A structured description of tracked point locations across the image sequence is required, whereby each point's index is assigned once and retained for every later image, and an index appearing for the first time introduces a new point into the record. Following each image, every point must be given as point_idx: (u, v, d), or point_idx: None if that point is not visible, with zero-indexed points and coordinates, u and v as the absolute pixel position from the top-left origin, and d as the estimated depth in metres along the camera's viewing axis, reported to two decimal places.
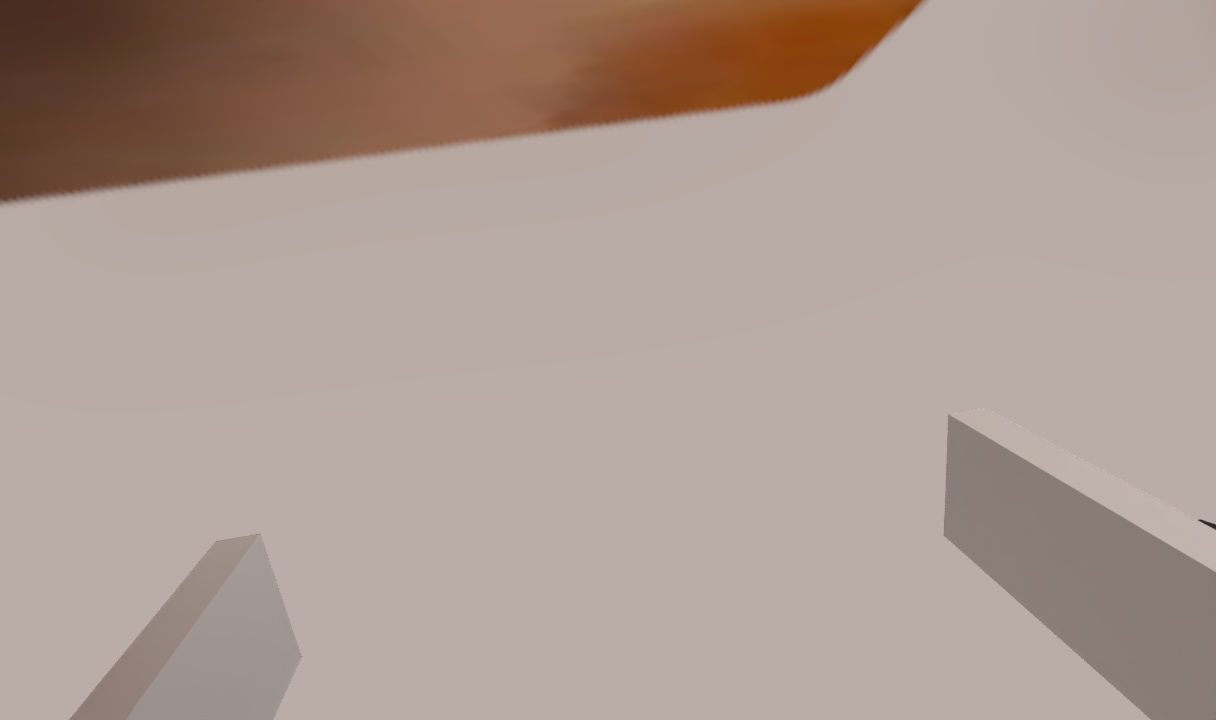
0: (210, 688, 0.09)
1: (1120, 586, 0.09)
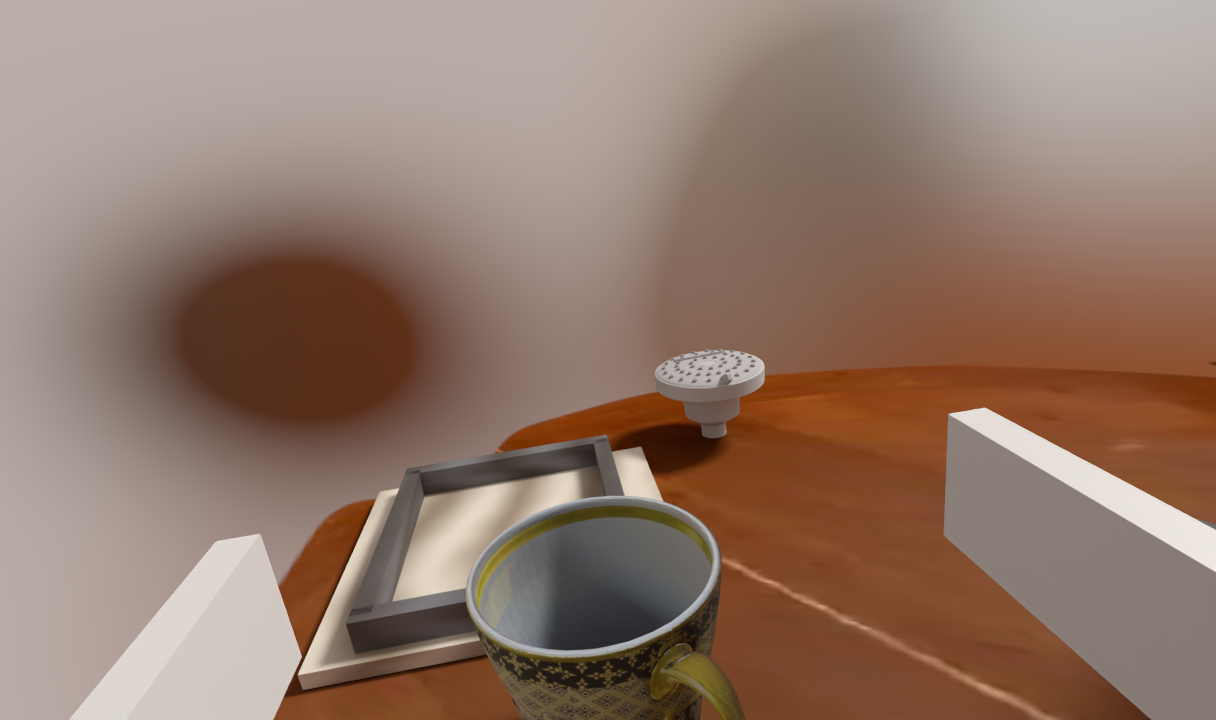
0: (210, 688, 0.09)
1: (1120, 586, 0.09)
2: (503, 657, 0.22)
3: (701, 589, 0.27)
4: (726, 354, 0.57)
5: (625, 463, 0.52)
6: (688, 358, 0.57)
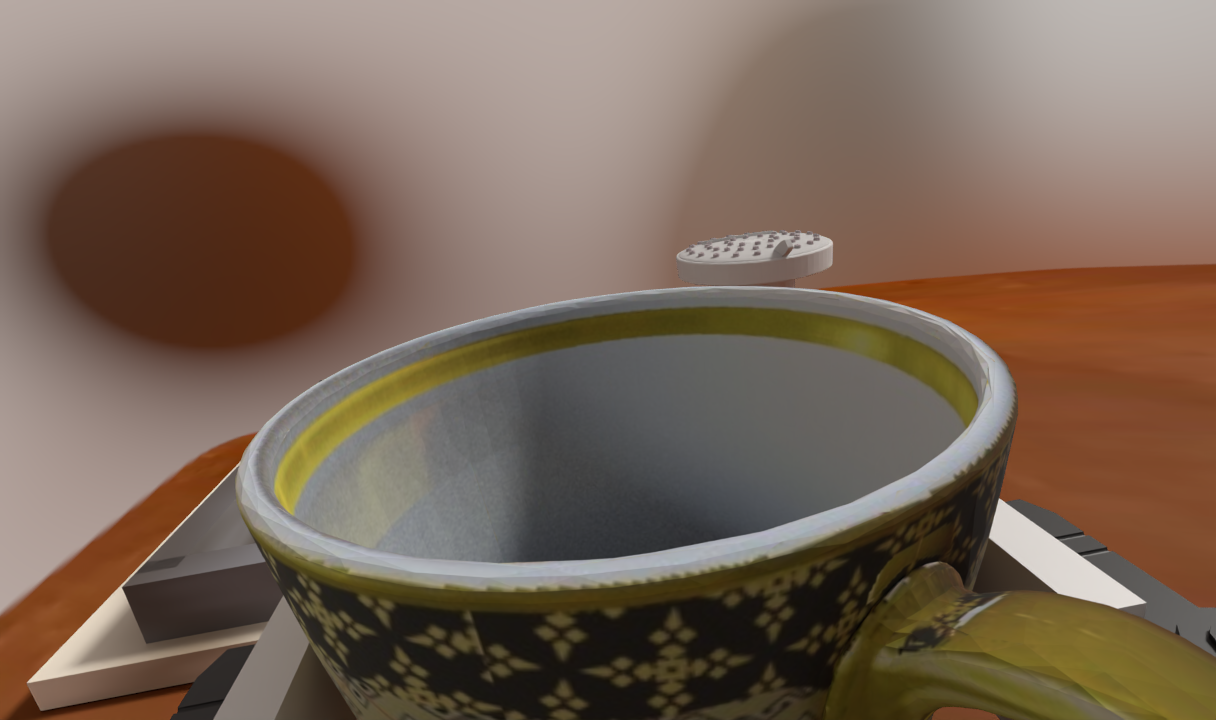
0: None
1: None
2: (292, 596, 0.06)
3: (880, 469, 0.11)
4: (775, 233, 0.41)
5: None
6: (722, 239, 0.41)
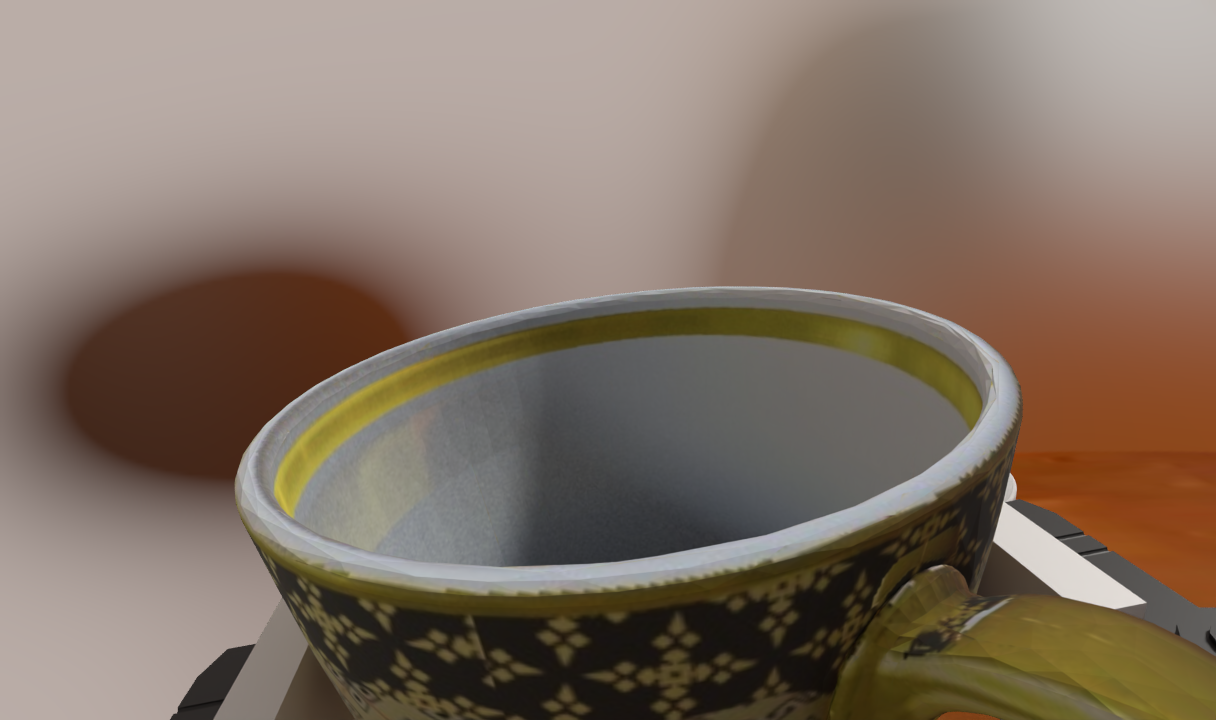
0: None
1: None
2: (292, 599, 0.06)
3: (882, 470, 0.11)
4: None
5: None
6: None
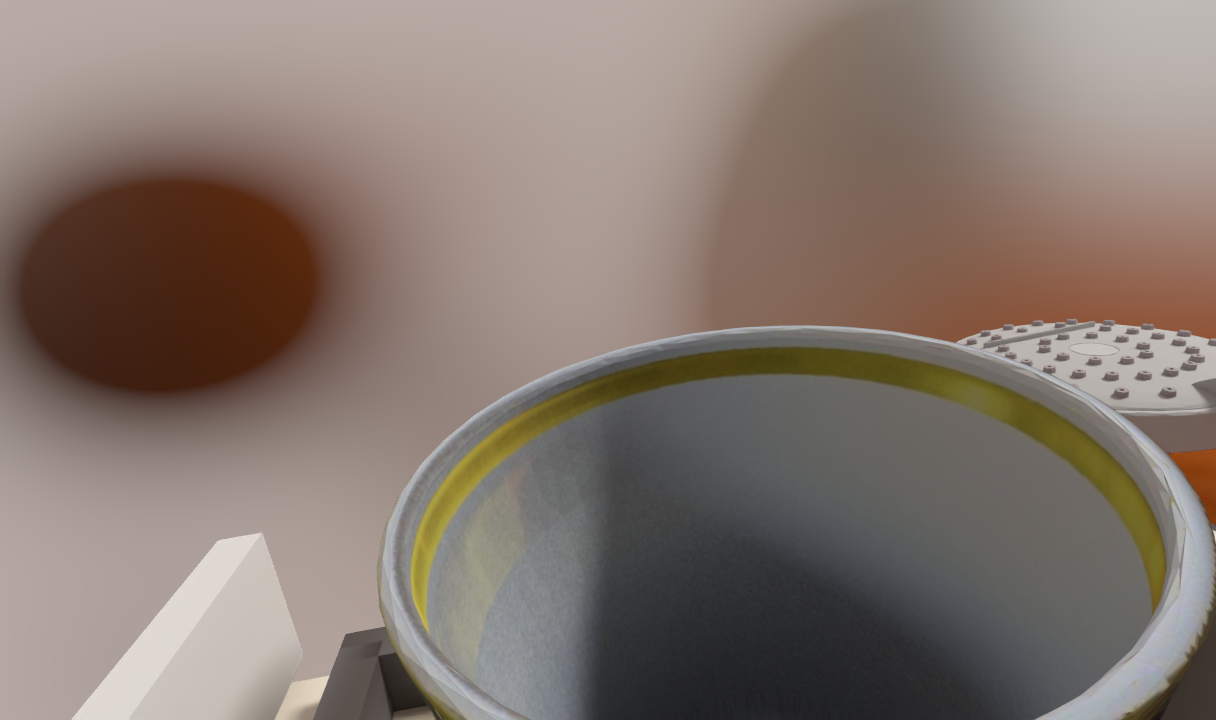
0: (213, 686, 0.09)
1: None
2: None
3: (997, 529, 0.11)
4: (1110, 329, 0.24)
5: None
6: (1018, 339, 0.25)
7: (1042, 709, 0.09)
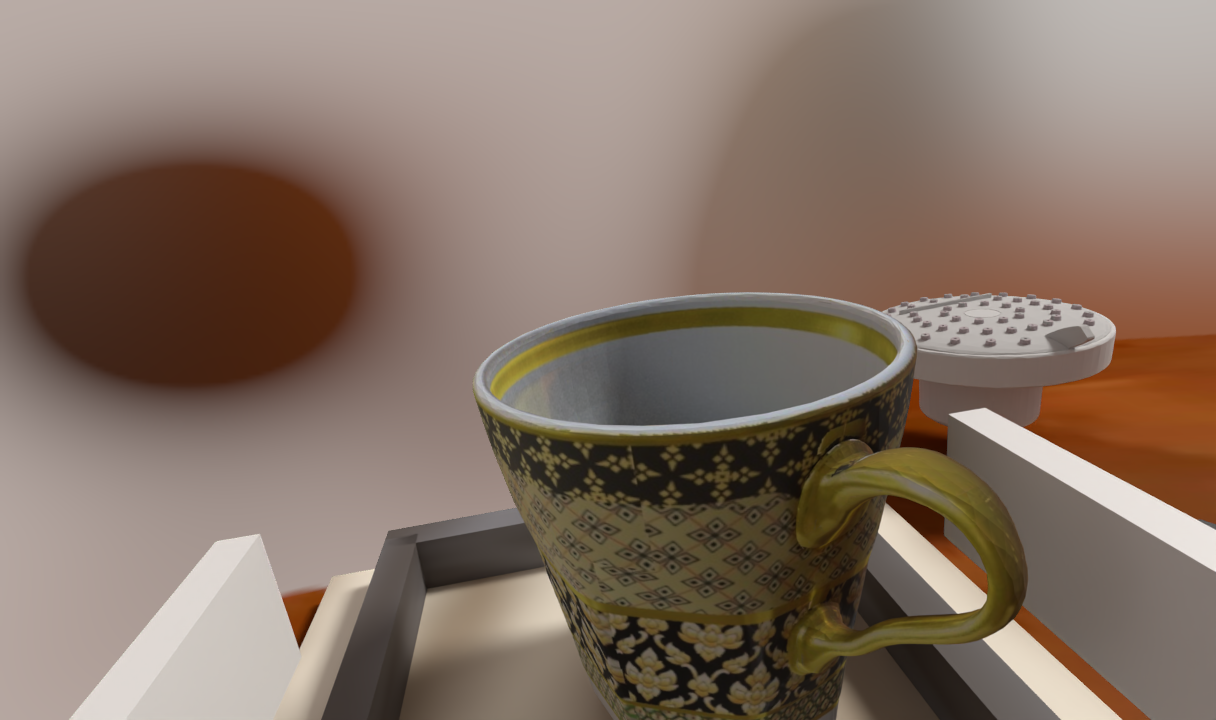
0: (210, 688, 0.09)
1: (1120, 586, 0.09)
2: (527, 452, 0.12)
3: None
4: (1001, 299, 0.30)
5: None
6: (927, 307, 0.30)
7: None
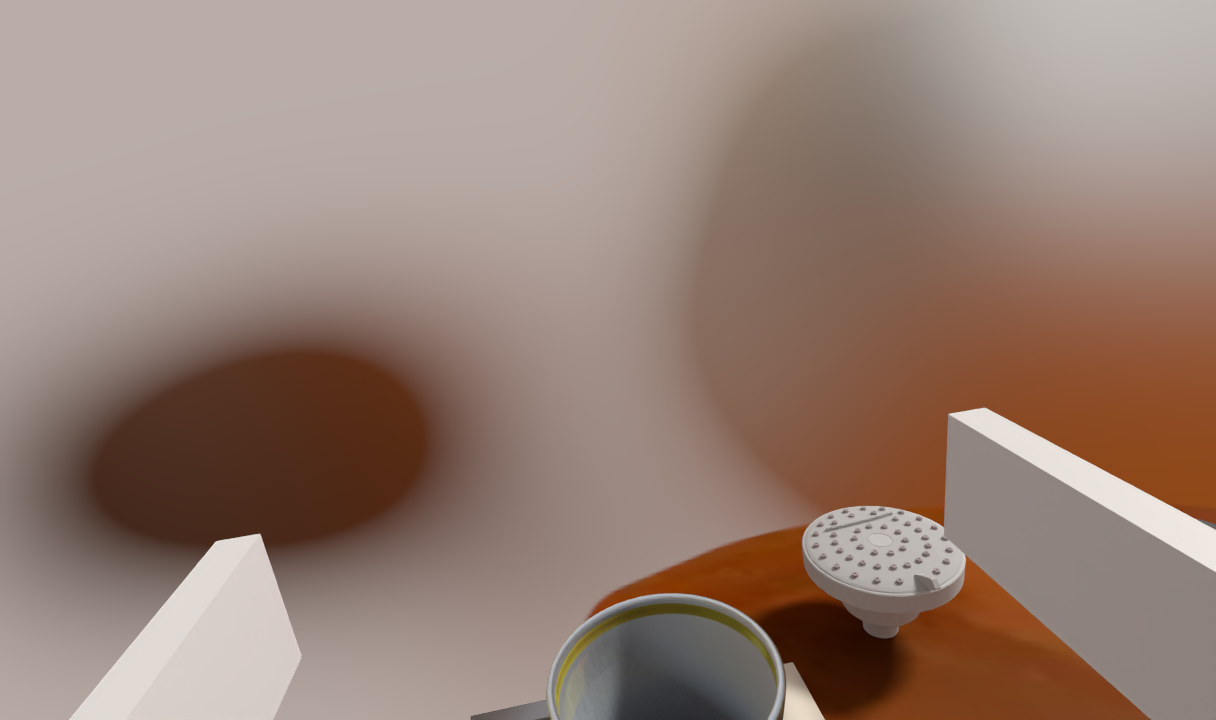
0: (210, 688, 0.09)
1: (1120, 586, 0.09)
2: None
3: (765, 697, 0.28)
4: (897, 520, 0.42)
5: None
6: (845, 526, 0.42)
7: None
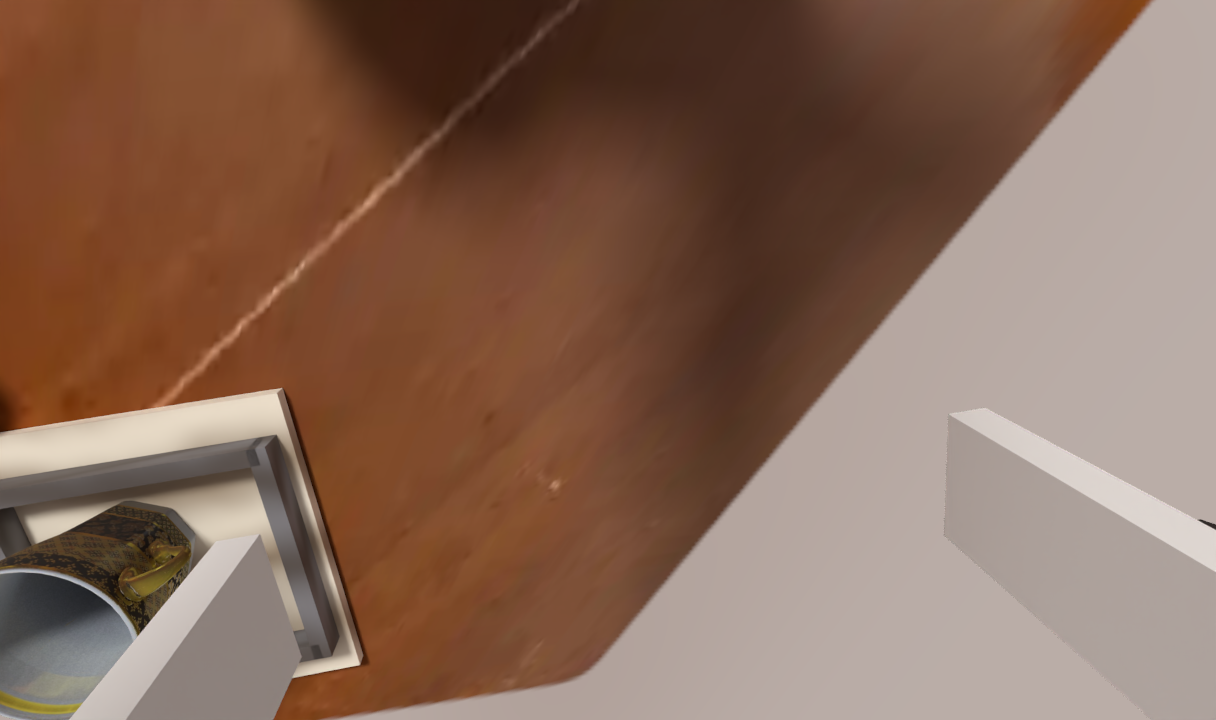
0: (210, 688, 0.09)
1: (1120, 586, 0.09)
2: None
3: None
4: None
5: (3, 462, 0.41)
6: None
7: None
